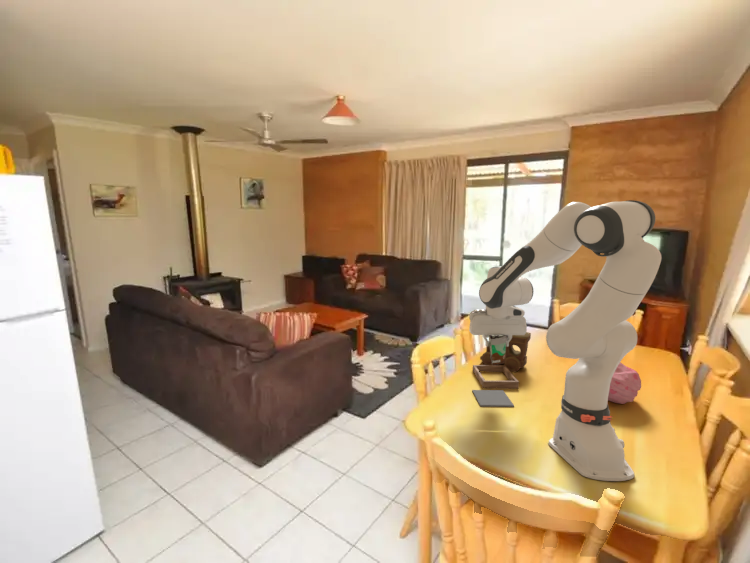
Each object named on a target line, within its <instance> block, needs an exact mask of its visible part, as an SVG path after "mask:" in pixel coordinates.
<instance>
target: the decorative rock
mask: <svg viewBox="0 0 750 563" xmlns="http://www.w3.org/2000/svg"><path fill="white" fill-rule="evenodd" d="M641 389H642V380H641V377H640V374H639V373H638V372H637V371H636V370H635V369H633V368H631V367H628V366H626V365H624V364H623V363H622V362H620V363H619V365H618V366H617V368H616V370H615V372H614V374H613V377H612V379H611V383H610V388H609V395H608V401H610V402H611V403H615V404H621V405H625V404H627V403H630V402H631V403H632V402H633V401H634V400H635V398H636V397H637V396H638V395H639V394H638V393H639V392H638V391H641Z"/></svg>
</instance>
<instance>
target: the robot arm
mask: <svg viewBox="0 0 750 563" xmlns="http://www.w3.org/2000/svg"><path fill="white" fill-rule="evenodd" d="M655 223H656V213H655V212H654V209H653V208H652V207H651V205H649V204H647V203H646V202H643V201H641V200H633V199H630V200H628V199H627V200H624V201H623V200H622V201H611V202H606V203H603V204H600V205H599V204H598V205H594V206H590V205H589V204H587V203H584V202H581V201H572V202H570V203H567V204H566V205H565V206H564V207H562V208H561V209H560V210H559V211H557V213H556V214H555V215H554V216H553V217H552V218H551V219H550V220H549V221H548V223H546V225H545V226H543V229H542V230H541V231H540V232H539V233H538V234H537V235H536V236H535V237H534V238H532V239H531V241H529V242H528V243H527V244H525V245H524V246H522V247H521V248H520V249H518V250H517V251H516V252H514V253H513V254H512V256H511V257H510V258H508V260H506V262H505V263H504V264H503V265H500V266H493V267H490V268H489V269H488V272H487V276H486V278H485V279H484V281H483V282H482V283H481V285H480V287H479V289H478V290H479V291H478V296H479V299H480V301H481V302H482V303H483V305H484V306H485V309H474V310H472V311H471V312H470V313H469V321H470V322H469V326H468V327H469V330H468V331H469V333H470V334H471V335H472V336H482V337H483V340H484V341H485V346H486V347H488V346H491V345H490V344H491V342H490V341H489V335H507V342H506V347H508V346H509V342H510V340H511V339H512V335H525V333H526V332H528V331H527V330H528V329H527V328H528V327H527V320H526V317H524V316H525V313H526V312H525V310H523V309H522V308H520V307H518V306H522V305H526V304H529V303H530V302H531V300H532V299H533V296H534V286H533V284H532V282H531V281H530V280H529V279H528V278H526V277H523V276H524V275H525V274H526V273H529V272H531V271H534V270H538V269H542V268H548V267H553V266H557V265H561V264H562V263H564V262H565V261H567V260H569V259H570V258H571V257H573V255H574V254H575V253H576V252H577V251H578V250H579V249H580V248H581V247H582V246H584V247H585V248H587V249H589V250H590V251H592V252H593V253H594V254H595V255H596V256H598V257H604V258H605V257H606V258H605V263H604V265H603V267H601V268H602V269H601V271H600V272H599V274H598V276H597V278H596V280H595V281H594V283H593V285H592V287H591V288H590V291H589V292H588V294H587V295H586V297H585V298H584V299H583V300H582V301H581V303H580V304H578V305H577V307H575V308H574V309H573V310H571V312H570V313H568V314H567V315H566V316H565V317H564V318H562V319H560V320H558V321H557V322H554V323H552V324H551V325H550V326H549V327H548V329H547V331H546V336H545V339H546V343H547V344H546V345H547V346H548V347H547V348H548V349H549V350H550V351H551V353H552V354H553V355H555V356H556V357H558V358H565V359H573V360H577V361H576V363H575V364H573V365H571V367H569V368H568V370H566V373H565V377H564V378H565V380H564V391H563V394H562V396H561V400H560V401H561V402H560V406H561V407H560V408H561V411H560V413H559V414H558V416H557V417H556V419H555V423H554V429H553V434H552V435H553V436H552V437H551V438H550V439H548V445H549V446H550V447H551V448H552V449H553V450H554V451H555V452H556V453H557V454H558V455H559V456H560V457H562V458H563V459H564V460H565V462H567V463H568V464H569V465H570V466H571V467H573V469H575V470H576V471H577V473H579V474H580V475H581V476H582V477H586V478H588V479H592V480H596V481H597V480H598V481H605V482H622V481H623V482H624V481H628V480H629V481H630V480H632V479H634V478H635V472H634V470H633V469H632V467H631V465H629V463H628V462H627V460H626V459H625V457H626V456H625V455H626V454H625V449H624V448H625V441H624V440H623V439H622V438H619V437H618V435H617V434H616V430H615V428H614V427H613V426H612V424H611V421H612V420H613V416H611V415H610V414H611V410H610V407H609V404H608V401H609V400H608V395H609V388H610V383H611V379H612V377H613V374H614V372H615V370H616V368H617V366H618V365H619V363H622V362H621V361H622V360H623V359H624V357H625V356H627V354H628V353H630V352H631V351H632V350H634V348H635V347H636V346H637V344H638V333H637V329H636V328H635V327H634V325H633V324H632V323H631V322H630V321H629V320H628V319H630V318H631V317H632V316H634V314H635V312H636V310H637V309H638V307H639V305H640V304H641V302H642V301H643V299H644V298H645V297H646V294H647V293H648V291H649V290H650V288H651V286H652V284H653V283H654V280H655V279H656V275H658V271H659V268H660V265H661V262H662V253H661V252H660V250H659V249H658V248H657V247H656V245H655V246H654V245H653V244H651V243H649V242H647V241H645V240H644V239H643V238H644V237H645V236H648V234H649V233H651V231H652V230H653V229H654V226H655ZM487 338H488V339H487Z"/></svg>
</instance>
